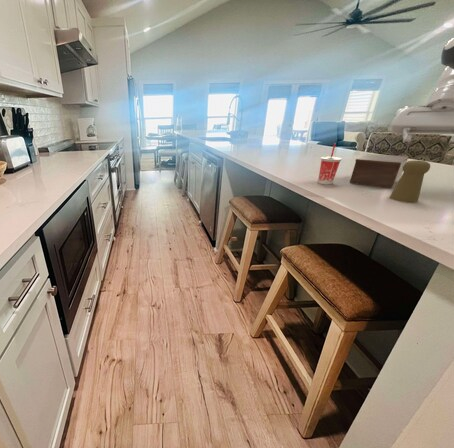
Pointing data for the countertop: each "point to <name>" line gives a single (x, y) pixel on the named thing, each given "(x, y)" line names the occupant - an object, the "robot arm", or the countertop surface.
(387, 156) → the lid
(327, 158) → the beverage cup
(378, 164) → the chest
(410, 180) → the cork
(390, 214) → the countertop surface
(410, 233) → the countertop surface
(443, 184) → the countertop surface
